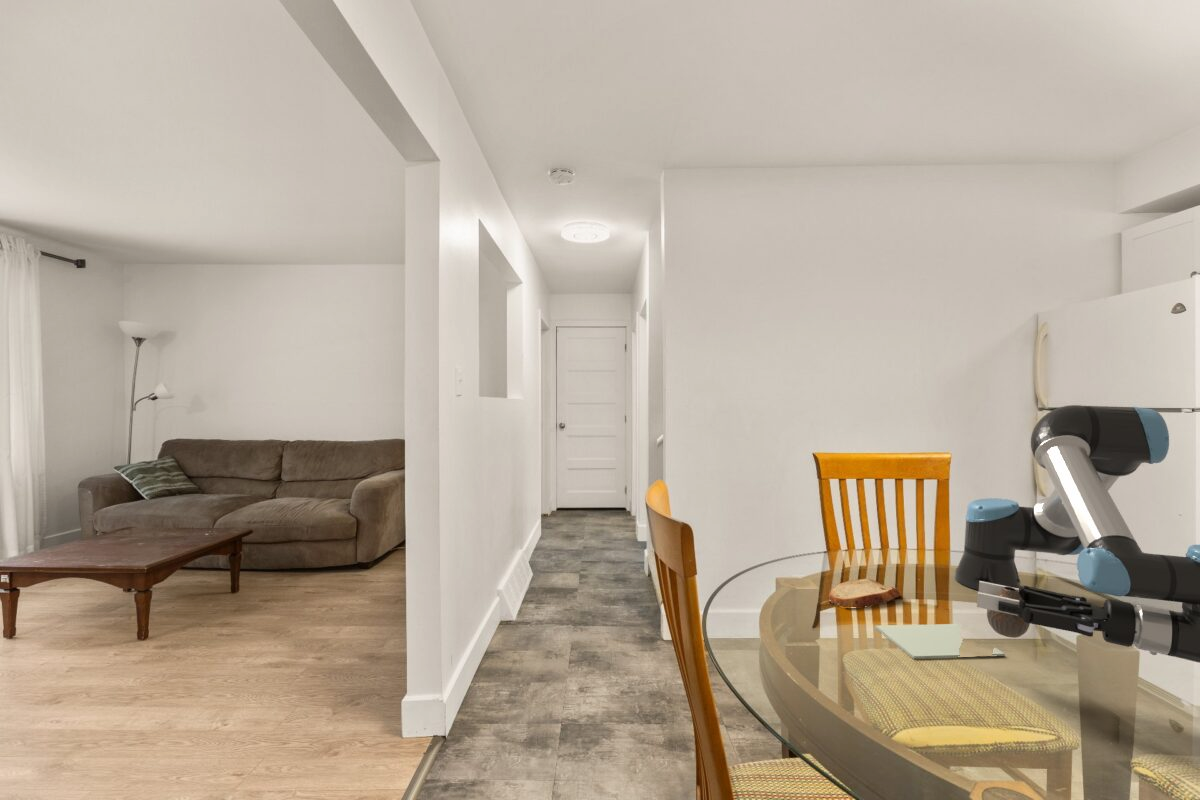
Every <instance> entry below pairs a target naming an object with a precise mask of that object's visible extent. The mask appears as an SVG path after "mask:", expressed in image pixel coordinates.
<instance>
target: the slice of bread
mask: <svg viewBox="0 0 1200 800" xmlns="http://www.w3.org/2000/svg"><path fill="white" fill-rule="evenodd" d="M900 596H901V592H900V590H899V589H898V588H897V587H894V586H891V587H888V586H886V585H884V584H882V583H880V582H878V581H876V580H873V579H871V578H862V579H861V578H860V579H855V580H854V579H851V580H847V581H845V582H841V583H839V584H837V586H835V587H833V588H832V589H831V590H830V591H829V594H828V597H829V599H830V600H831V601H832V602H834V603H835V604H837V605H840V606H843V607H862V608H866V607H865V606H867V607H872V606H871V605H873V606H877V604H878V605H881V603H882V604H885V602H887V603H888V602H891V601H893V600H895V599H896V598H899V597H900ZM890 600H891V601H890Z"/></svg>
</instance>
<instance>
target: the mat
mask: <svg viewBox="0 0 1200 800" xmlns="http://www.w3.org/2000/svg"><path fill="white" fill-rule="evenodd" d="M959 625H960V624H959V623H940V624H939V623H938V624H933V623H932V624H931V623H930V624H896V625H895V624H892V625H890V624H889V625H888V624H887V625H882V624H881V625H875V626H874V629H876V631H878V632H879V633H881V634H882V635H883V636H884V637H886V638H887V639H888V640H889V641H890V642H892V643H893V644H894V645H896V646H897V647H898V648H899V649H900V650H901V651H903V652H904V653H905V654H907V655H908V656H909V657H910V658H912V660H922V659H924V660H925V659H926V660H927V659H929V660H930V659H958V658H957V657H958V656H960V654H959V648H960V646H961V643H962V642H963V641H962V640H963V639H962V638H961V637H960V636H961V635H960V634H959V631H960V628H961V626H962V625H960V626H959ZM1005 654H1006V653H1004V652H1003V651H1002V650H999V648H997V647H995V648H994V649H993V653H992V655H997V656H1006V655H1005Z"/></svg>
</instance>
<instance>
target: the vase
mask: <svg viewBox="0 0 1200 800" xmlns="http://www.w3.org/2000/svg"><path fill="white" fill-rule="evenodd" d="M995 596H1000V597H1005V598H1010V599H1015V600H1019V605H1020V599H1022V597H1021V596H1020V594H1019V592H1018V590H1017V589H1015V588H1012V587H1003V588H1002V590H1001V591H1000V592H999V593H997V594H996V595H995ZM1025 604H1026V603H1025ZM986 617H987V621H988V624H989V626H990V627H991V628H992V630H993V631H994V632H995V633H997V634H998V635H1000V636H1003V637H1008V638H1013V639H1014V638H1016V639H1017V638H1020V637H1022V636H1023V635H1025V634H1026V633H1027V632H1028V630H1029V628H1030V625H1031V624H1030V623H1026V622H1024V621H1023V618H1020V617H1019V615H1018V616H1016V615H1012V614H1007V613H1003V612H998V611H993V610H989V609H986Z"/></svg>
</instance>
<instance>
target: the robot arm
mask: <svg viewBox="0 0 1200 800" xmlns="http://www.w3.org/2000/svg"><path fill="white" fill-rule="evenodd" d="M1167 425H1168V424H1167V423H1166V421H1165V419H1164V418H1163V415H1162V414H1160V413H1159V412H1158V411H1156V410H1154V409H1151V408H1145V407H1137V406H1109V405H1108V406H1107V405H1106V406H1103V405H1102V406H1100V405H1099V406H1098V405H1081V404H1079V405H1078V404H1074V405H1073V404H1072V405H1070V404H1069V405H1065V406H1061V407H1057V408H1055V409H1052V410H1050V411H1049V412H1047V413H1046V414H1045V415H1043V416H1042V417H1041V418H1040V419H1039V420H1038V422H1037V423H1036V424H1035V426H1034V428H1033V430H1032V432H1031V436H1030V449H1031V452H1032V455H1033V457H1034V460H1035V462H1036V463H1037V464H1038V465H1039V466H1040V467H1041V468H1043V469H1045V470H1046V471H1047V474H1048V476H1049V478H1050V480H1051V482H1052V484H1053V486H1054V489H1053V491H1052V492H1051V493H1050V495H1049V496H1048V497H1043V498H1041V499H1039V500H1038V501H1037V502H1036V503H1035V505H1033V507H1031V506H1029V507H1028V506H1020V505H1019V503H1018V502H1017V501H1015V500H1013V499H1008V498H1007V499H1005V498H991V497H989V498H979V499H975V500H973V501H971V502H969V503H968V505H967V508H966V514H965V532H964V533H965V534H964V545H963V546H964V549H963V554H962V556H961V558H960V560H959V563H958V566H957V567H956V568H955V570H954V571H955V574H954V580H955V581H956V582H957V583H959V584H961V585H962V586H965V587H966V588H970V589H973V590H977V591H978V592H977V601H976V608H981V609H985V610H987V609H989V610H993V611H998V612H1003V613H1007V614H1012V615H1016V616H1018V615H1019V617H1020V618H1023V621H1024V622H1026V623H1030V625H1031V624H1032V625H1036V626H1040V627H1041V626H1042V627H1047V628H1051V629H1057V630H1060V631H1061V630H1062V631H1066V632H1072V633H1077V634H1080V635H1083V636H1087V637H1090V638H1091V637H1094V632H1095V631H1096V632H1101V633H1102V638H1103V641H1105V642H1106V643H1108V644H1114V645H1117V646H1123V647H1127V648H1129V647H1132V646H1134V647H1135V648H1136V649H1138V650H1140V651H1147V652H1149V654H1150V655H1152V656H1157V655H1158V654H1160V655H1164V656H1168V657H1172V658H1173V657H1174V658H1178V659H1183V660H1185V661H1191V662H1195V663H1199V664H1200V544H1192V545H1190V546H1188V548H1187V551H1186V553H1185V556H1181V555H1180V556H1178V555H1169V554H1158V553H1157V554H1156V553H1155V554H1154V553H1149V552H1143V551H1142V549H1141V547H1140V546H1139V543H1138V542H1137V541H1136V539H1135V537H1134V535H1133V533H1132V531H1131V530H1130V529H1129V526H1128V524H1127V523H1126V521H1125V519H1124V518H1123V515H1122V514H1121V511H1120V510H1119V509H1118V507H1117V505H1116V504H1115V501H1114V500H1113V498H1112V496H1111V495H1110V493H1109V490H1110V489H1111V488H1112V487H1113V485H1114V484H1115V482H1116V481H1117V480H1118V479H1119V478H1120V477H1125V476H1129V475H1131V474H1133V473H1134V472H1135V471H1136V470H1137V469H1138V468H1139V467H1140V466H1141V465H1142V464H1149V465H1153V464H1159V463H1161V462H1163V461H1164V460H1165V459H1166V457H1167V454H1168V452H1169V449H1170V448H1169V447H1170V436H1169V435H1170V433H1169V429H1168V426H1167ZM1016 551H1025V552H1035V553H1045V554H1055V555H1058V556H1059V555H1060V556H1076V555H1078V556H1077V561H1076V570H1077V571H1078V573H1077V574H1078V579H1079V581H1080V583H1081V584H1082V585H1083V586H1084V587H1085V589H1086V590H1088V591H1091V592H1093V593H1099V594H1103V595H1104V594H1105V595H1111V596H1113V597H1126V598H1127V597H1129V598H1139V599H1149V600H1156V601H1157V600H1158V601H1165V602H1174V603H1175V602H1176V603H1180V604H1181V611H1182V612H1181V611H1174V610H1169V609H1165V608H1160V607H1155V606H1150V605H1144V604H1137V605H1135V606H1134V604H1132V603H1131V602H1127V601H1122V600H1117V599H1111V598H1106V599H1105V601H1104V602H1103V606H1102V607H1101V606H1097V605H1094V604H1092V603H1090V602H1088V601H1087V599H1088V598H1087V597H1084V596H1076V595H1069V594H1066V593H1065V594H1064V593H1060V592H1057V591H1056V592H1055V591H1051V590H1046V589H1042V588H1037V587H1033V586H1027V585H1023V586H1022V587H1021V579H1020V576H1019V572H1018V569H1017V566H1016V565H1017V564H1016V563H1015V555H1016ZM1003 587H1012V588H1015V589H1017V590H1018V592H1019V594H1020V596H1021V597H1022V599H1020V605H1019V600H1015V599H1010V598H1005V597H1000V596H995V595H996V594H997V593H999V592H1000V591H1001V590H1002V588H1003ZM1025 603H1026V604H1025Z"/></svg>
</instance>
